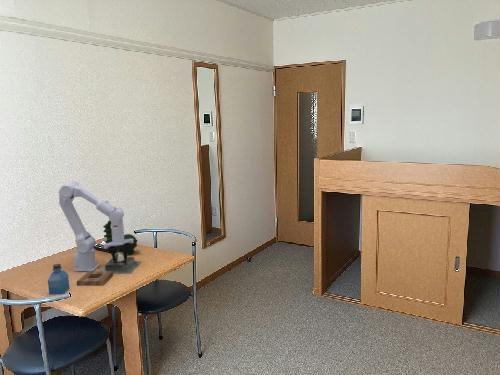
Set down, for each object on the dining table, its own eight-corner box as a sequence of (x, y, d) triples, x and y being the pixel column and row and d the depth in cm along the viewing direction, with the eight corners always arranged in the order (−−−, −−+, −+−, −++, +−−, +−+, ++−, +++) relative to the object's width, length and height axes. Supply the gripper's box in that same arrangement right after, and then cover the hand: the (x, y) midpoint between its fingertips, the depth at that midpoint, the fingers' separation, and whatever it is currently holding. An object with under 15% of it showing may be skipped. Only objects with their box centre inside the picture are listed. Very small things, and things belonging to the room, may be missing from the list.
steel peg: (117, 268, 205) (116, 255, 203) (115, 266, 208) (114, 252, 207) (125, 267, 207) (124, 253, 205) (123, 264, 210) (122, 251, 209)
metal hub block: (98, 273, 200) (97, 266, 200) (110, 262, 216) (110, 255, 215) (130, 273, 199) (130, 266, 199) (141, 262, 215) (140, 255, 214)
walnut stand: (77, 285, 187) (76, 281, 186) (88, 275, 198) (88, 271, 198) (103, 285, 186) (102, 281, 186) (113, 275, 198) (112, 271, 197)
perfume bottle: (69, 288, 184) (66, 262, 182) (63, 293, 178) (61, 267, 176) (55, 288, 184) (52, 262, 182) (49, 294, 178) (46, 267, 176)
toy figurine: (102, 254, 234) (132, 257, 220) (97, 221, 232) (127, 223, 218) (115, 249, 242) (145, 252, 228) (111, 218, 240) (141, 219, 226)
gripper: (105, 237, 197) (108, 264, 199) (135, 232, 206) (136, 258, 208) (101, 234, 203) (103, 260, 205) (129, 229, 211) (131, 254, 214)
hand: (119, 259), depth 207 cm, fingers open, 5 cm apart
